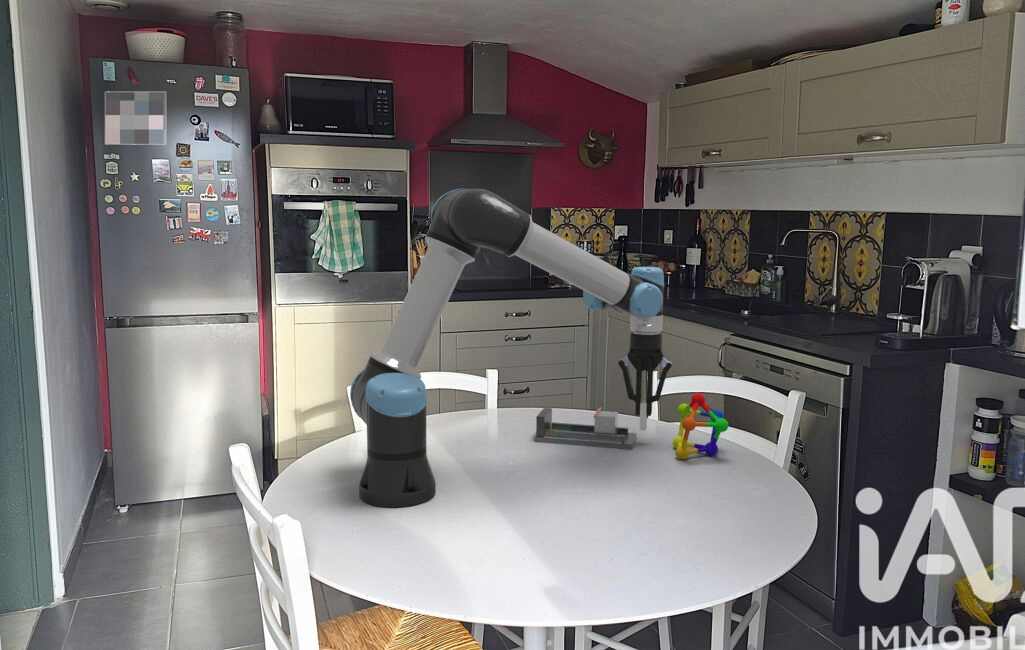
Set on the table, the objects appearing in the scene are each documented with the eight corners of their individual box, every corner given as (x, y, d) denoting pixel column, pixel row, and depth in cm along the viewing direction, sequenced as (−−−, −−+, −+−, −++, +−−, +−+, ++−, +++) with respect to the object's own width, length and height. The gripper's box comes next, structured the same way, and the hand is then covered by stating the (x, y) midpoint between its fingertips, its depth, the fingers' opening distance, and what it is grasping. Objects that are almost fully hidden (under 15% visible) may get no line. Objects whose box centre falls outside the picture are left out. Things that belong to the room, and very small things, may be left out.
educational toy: (734, 467, 185) (740, 404, 181) (678, 468, 184) (682, 405, 180) (713, 441, 200) (718, 382, 196) (661, 441, 199) (665, 383, 195)
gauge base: (533, 441, 200) (534, 416, 199) (542, 430, 210) (542, 407, 209) (632, 449, 194) (633, 424, 193) (636, 437, 204) (637, 413, 203)
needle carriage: (593, 438, 197) (593, 416, 196) (598, 428, 205) (599, 407, 205) (613, 440, 195) (614, 417, 195) (618, 430, 204) (619, 408, 203)
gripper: (616, 333, 192) (614, 430, 196) (673, 335, 189) (669, 434, 193) (620, 328, 200) (618, 422, 203) (674, 331, 196) (671, 426, 200)
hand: (643, 428), depth 198 cm, fingers closed
